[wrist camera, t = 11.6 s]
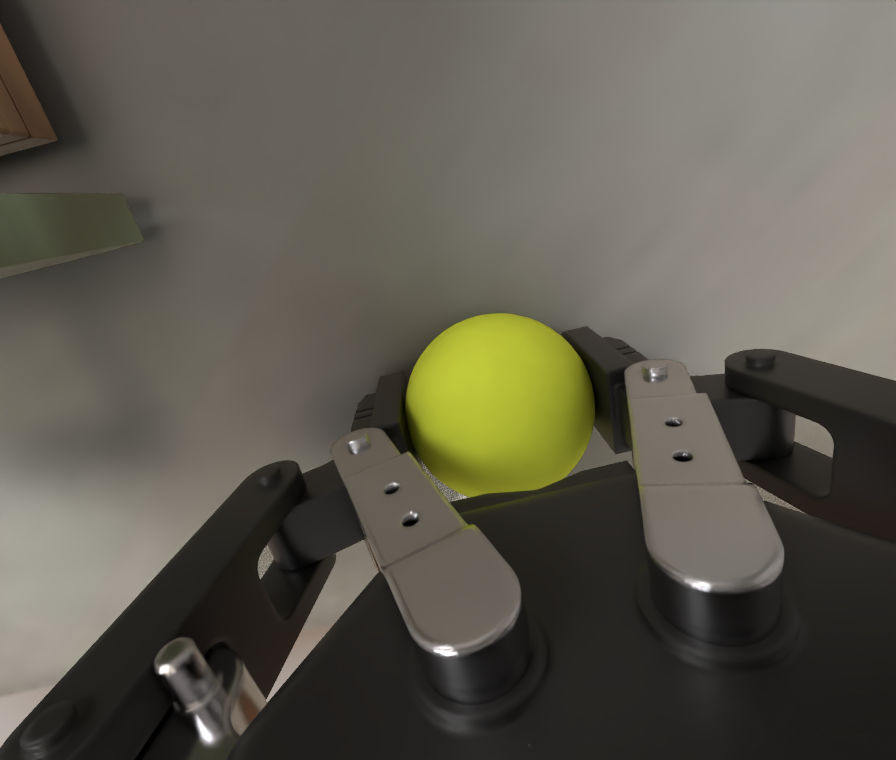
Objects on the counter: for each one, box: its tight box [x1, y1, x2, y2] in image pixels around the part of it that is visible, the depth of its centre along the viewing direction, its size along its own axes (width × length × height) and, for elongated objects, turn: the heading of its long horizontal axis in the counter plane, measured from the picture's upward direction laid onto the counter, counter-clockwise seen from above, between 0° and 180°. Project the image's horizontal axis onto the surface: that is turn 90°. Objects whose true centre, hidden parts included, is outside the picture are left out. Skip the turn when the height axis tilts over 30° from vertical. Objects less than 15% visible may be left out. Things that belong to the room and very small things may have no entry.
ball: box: [405, 313, 595, 497], centre depth 13 cm, size 5×5×5 cm
